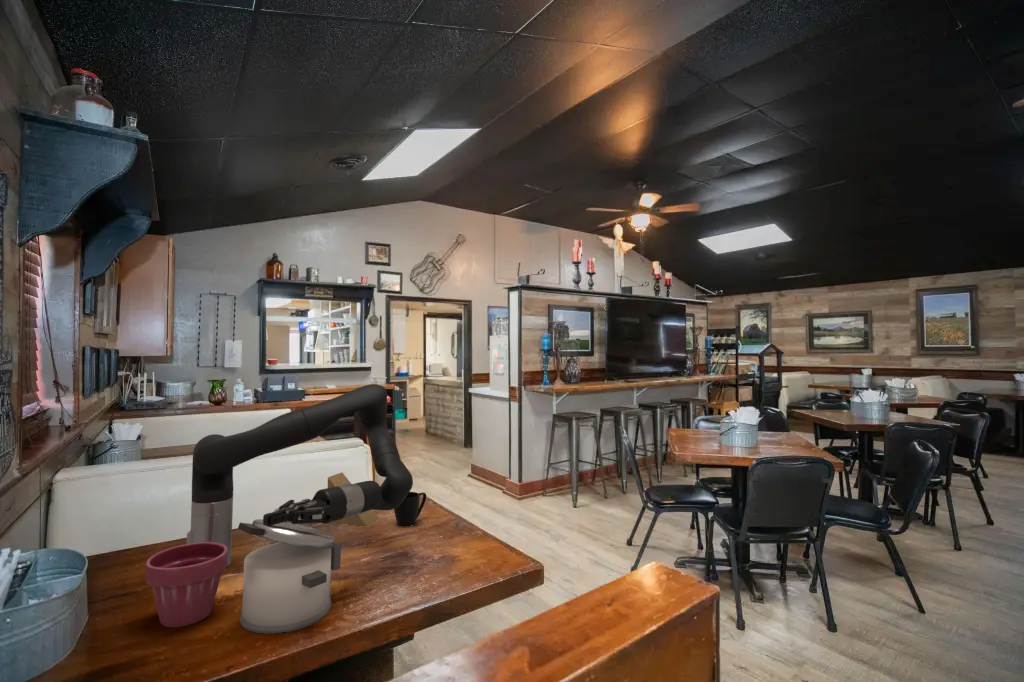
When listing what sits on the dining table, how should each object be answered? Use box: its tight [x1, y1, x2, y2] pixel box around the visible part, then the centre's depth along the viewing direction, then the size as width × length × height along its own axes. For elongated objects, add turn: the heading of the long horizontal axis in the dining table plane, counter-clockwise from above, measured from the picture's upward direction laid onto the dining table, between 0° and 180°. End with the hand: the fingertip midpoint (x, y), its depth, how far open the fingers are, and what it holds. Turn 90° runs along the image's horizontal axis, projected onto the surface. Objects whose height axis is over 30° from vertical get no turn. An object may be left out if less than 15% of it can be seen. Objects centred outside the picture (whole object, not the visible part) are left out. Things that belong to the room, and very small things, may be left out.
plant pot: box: [145, 542, 228, 628], centre depth 105 cm, size 14×14×13 cm
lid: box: [237, 518, 336, 548], centre depth 108 cm, size 20×17×2 cm
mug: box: [393, 491, 427, 527], centre depth 166 cm, size 8×12×10 cm
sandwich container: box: [327, 472, 381, 527], centre depth 167 cm, size 9×15×15 cm, turn 77°
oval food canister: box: [239, 542, 342, 635], centre depth 109 cm, size 19×23×12 cm
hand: (265, 520), depth 104 cm, fingers closed
